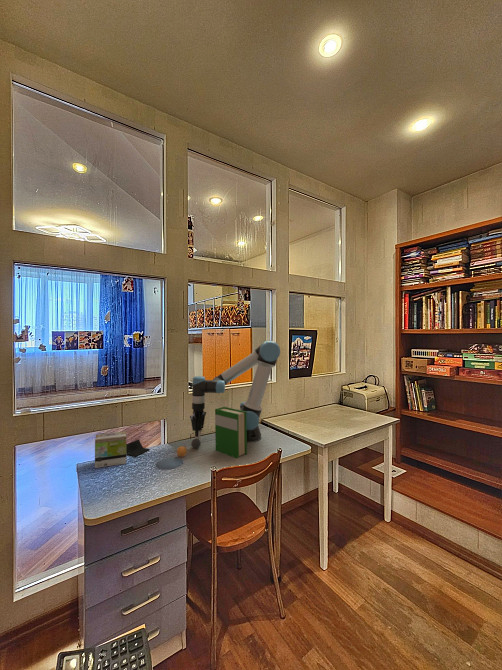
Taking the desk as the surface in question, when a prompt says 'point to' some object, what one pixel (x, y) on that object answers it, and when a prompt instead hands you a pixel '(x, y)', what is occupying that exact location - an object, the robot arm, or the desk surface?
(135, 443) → the black bookend
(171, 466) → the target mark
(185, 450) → the orange ball
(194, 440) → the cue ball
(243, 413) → the hardback book
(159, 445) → the desk surface
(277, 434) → the desk surface
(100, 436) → the tea box
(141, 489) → the desk surface
